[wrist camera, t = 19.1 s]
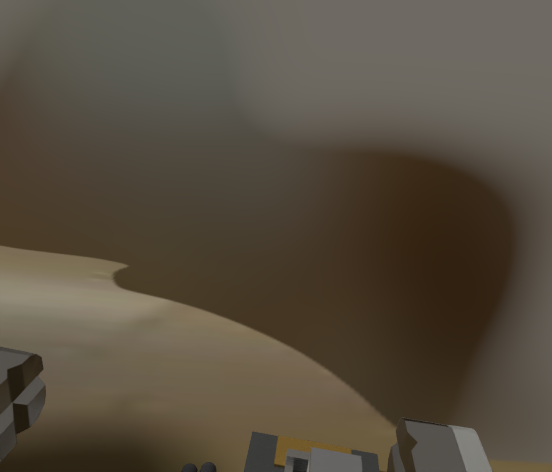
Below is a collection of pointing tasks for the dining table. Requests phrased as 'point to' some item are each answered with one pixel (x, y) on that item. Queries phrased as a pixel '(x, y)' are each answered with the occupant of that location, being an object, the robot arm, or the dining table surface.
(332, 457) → the knob
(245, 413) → the dining table surface
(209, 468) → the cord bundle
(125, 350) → the dining table surface
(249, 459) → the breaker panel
